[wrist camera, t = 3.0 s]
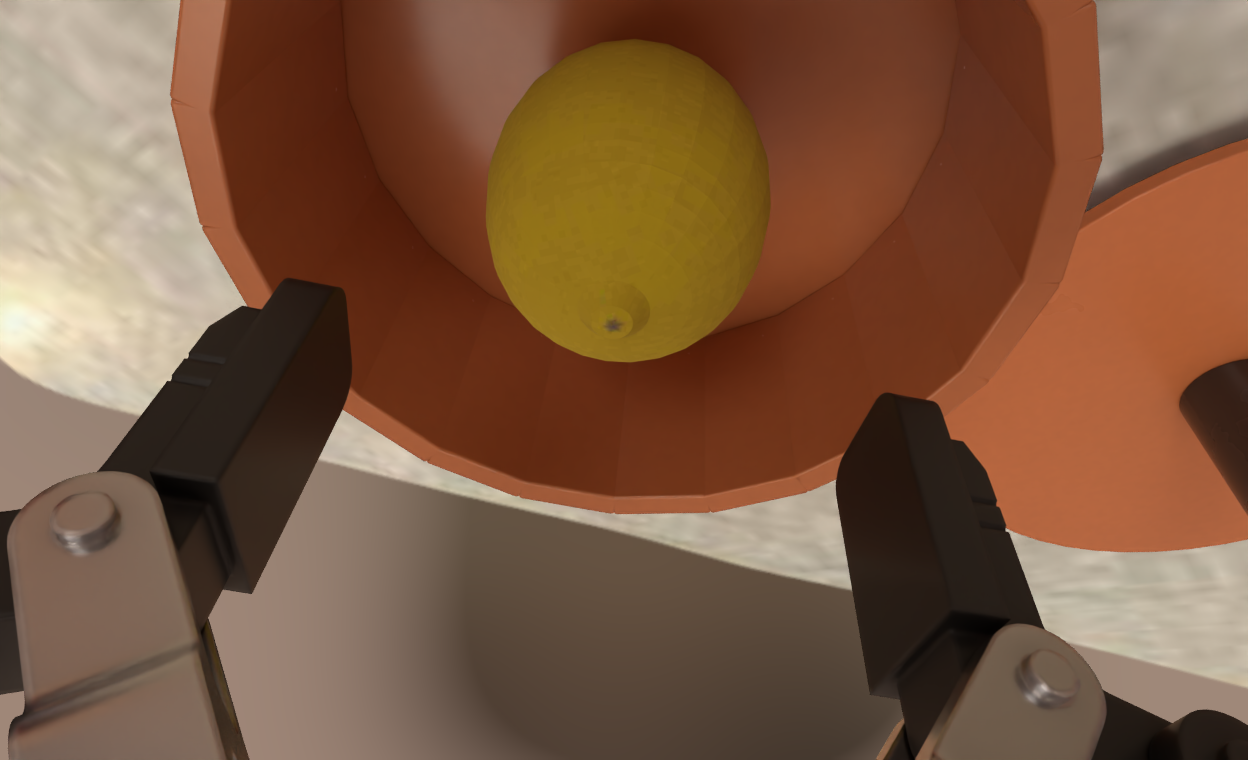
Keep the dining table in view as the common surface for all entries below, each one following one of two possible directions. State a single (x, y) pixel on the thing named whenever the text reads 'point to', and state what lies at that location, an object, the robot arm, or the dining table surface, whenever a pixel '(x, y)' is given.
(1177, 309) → the lid
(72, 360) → the dining table surface
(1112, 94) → the dining table surface
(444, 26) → the pan
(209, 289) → the dining table surface
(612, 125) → the lemon
